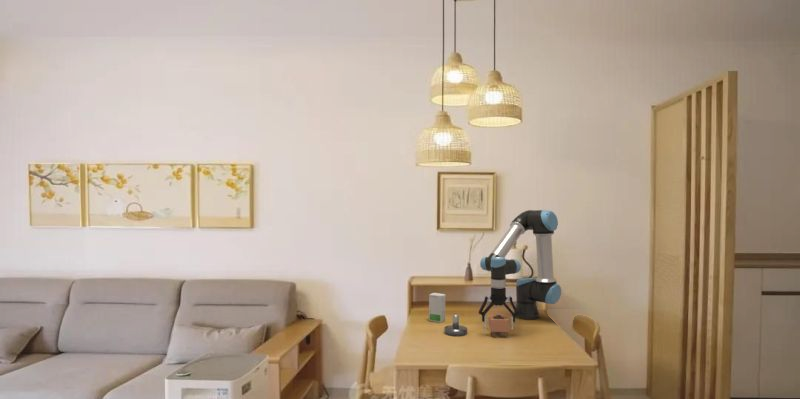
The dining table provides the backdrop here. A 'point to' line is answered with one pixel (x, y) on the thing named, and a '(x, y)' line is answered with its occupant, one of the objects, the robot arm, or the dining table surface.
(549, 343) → the dining table surface
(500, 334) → the stand
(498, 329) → the pink square tube frame
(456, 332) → the hub
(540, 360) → the dining table surface
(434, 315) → the skincare box
